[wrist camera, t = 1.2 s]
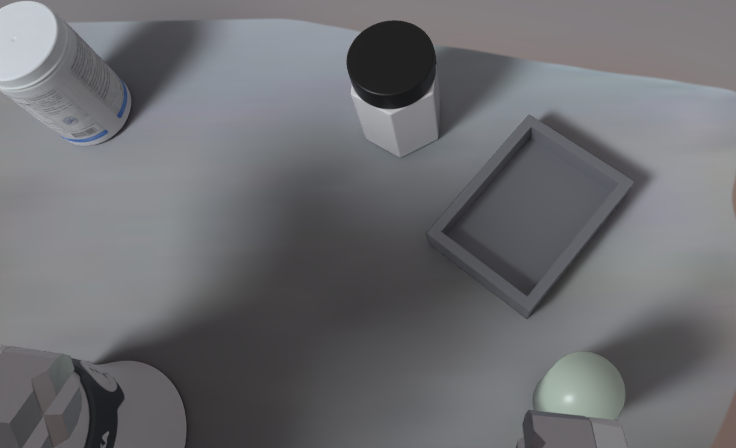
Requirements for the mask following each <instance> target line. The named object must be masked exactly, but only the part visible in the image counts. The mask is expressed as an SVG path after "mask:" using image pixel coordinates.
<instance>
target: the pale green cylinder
mask: <svg viewBox="0 0 736 448" xmlns="http://www.w3.org/2000/svg"><path fill="white" fill-rule="evenodd" d="M624 402H625V385H624V381H623V379H622V377H621V375H620V373H619V371H618V370H617V369H616V367H615V366H614V365H613V364H612V363H611V362H610V361H608V360H607V359H605V358H604V357H602V356H600V355H598V354H595V353H591V352H574V353H571V354H568V355H566V356H564V357H562V358H561V359H560V360H559V361H557V363H556V364H555V365H554V366H553V367H552V368H551V369H550V370H549V372H548V373H547V374H546V375H545V376H544V377H543V378H542V380H541V381H540V382H539V383H538V385H537V386H536V388H535V391H534V395H533V406H534V410H535V411H543V412H552V413H561V414H570V415H580V416H585V417H594V418H602V419H610V420H615V419H616V418H617V416H618V415H619V414H620V412H621V410H622V408H623V406H624Z"/></svg>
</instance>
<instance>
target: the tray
mask: <svg viewBox="0 0 736 448" xmlns="http://www.w3.org/2000/svg"><path fill="white" fill-rule="evenodd" d="M633 184H634V181H633V180H631V179H630V178H628V177H626V176H625V175H623V174H622V173H620V172H619V171H617V170H615V169H614V168H612V167H611V166H609V165H608V164H606V163H605V162H603V161H601V160H600V159H598V158H597V157H595V156H594V155H592V154H590V153H589V152H587V151H586V150H584V149H583V148H581V147H579V146H578V145H576V144H575V143H573V142H572V141H570V140H568V139H567V138H565V137H564V136H562V135H561V134H559V133H558V132H556V131H554V130H553V129H551V128H550V127H548V126H547V125H545V124H543V123H542V122H540V121H539V120H537V119H536V118H534V117H532V116H531V115H528V116H527V117H526V118H525V119H524V121H523V122H522V123H521V124H520V125H519V126H518V127H517V129H516V130H515V131H514V132H513V133H512V134H511V136H510V137H509V138H508V139H507V140H506V141H505V143H504V144H503V145H502V146H501V147H500V148H499V149H498V151H497V152H496V153H495V154H494V155H493V156H492V158H491V159H490V160H489V161H488V162H487V163H486V165H485V166H484V167H483V168H482V169H481V170H480V171H479V173H478V174H477V175H476V176H475V177H474V178H473V180H472V181H471V182H470V183H469V184H468V185H467V186H466V188H465V189H464V190H463V191H462V192H461V193H460V195H459V196H458V197H457V198H456V199H455V200H454V202H453V203H452V204H451V205H450V206H449V207H448V208H447V210H446V211H445V212H444V213H443V214H442V215H441V217H440V218H439V219H438V220H437V221H436V222H435V224H434V225H433V226H432V227H431V228H430V229H429V230H428V232H427V233H426V234H427V239H428V243H429V244H430V245H431V246H433V247H434V248H435V249H437V250H438V251H439V252H441V253H442V254H443V255H444V256H446V257H447V258H448V259H450V260H451V261H452V262H454V263H455V264H456V265H457V266H459V267H460V268H461V269H463V270H464V271H465V272H467V273H468V274H469V275H470V276H472V277H473V278H474V279H476V280H477V281H478V282H480V283H481V284H482V285H483V286H485V287H486V288H487V289H489V290H490V291H491V292H493V293H494V294H495V295H497V296H498V297H499V298H500V299H502V300H503V301H504V302H506V303H507V304H508V305H510V306H511V307H512V308H513V309H515V310H516V311H517V312H519V313H520V314H521V315H523V316H524V317H525V318H526V319H527V318H528V317H529V316H530V315H531V313H532V312H533V311H534V310H535V308H536V307H537V306H538V305H539V303H540V302H541V301H542V300H543V298H544V297H545V296H546V295H547V293H548V292H549V291H550V290H551V288H552V287H553V286H554V285H555V284H556V282H557V281H558V280H559V279H560V277H561V276H562V275H563V274H564V272H565V271H566V270H567V269H568V267H569V266H570V265H571V264H572V262H573V261H574V260H575V259H576V257H577V256H578V255H579V254H580V252H581V251H582V250H583V249H584V248H585V246H586V245H587V244H588V243H589V241H590V240H591V239H592V238H593V236H594V235H595V234H596V233H597V231H598V230H599V229H600V228H601V226H602V225H603V224H604V223H605V221H606V220H607V219H608V218H609V217H610V215H611V214H612V213H613V212H614V210H615V209H616V208H617V207H618V205H619V204H620V203H621V202H622V200H623V199H624V198H625V197H626V195H627V194H628V192H629V191H630V189H631V187H632V186H633Z"/></svg>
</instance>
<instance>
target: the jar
mask: <svg viewBox="0 0 736 448" xmlns="http://www.w3.org/2000/svg"><path fill="white" fill-rule="evenodd" d="M347 70H348V73H349V76H350V79H351V83H352V87H351V96H352V99H353V102H354V105H355V108H356V111H357V114H358V117H359V120H360V123H361V126H362V129H363V132H364V135H365V138H366V139H367V140H369V141H371V142H372V143H374V144H376V145H378V146H380V147H381V148H383V149H385V150H387V151H388V152H390V153H392V154H394V155H396V156H397V157H399V158H401V157H403V156H405V155H407V154H409V153H411V152H413V151H415V150H417V149H419V148H421V147H423V146H425V145H427V144H429V143H431V142H433V141H435V140H437V139H438V135H439V116H440V95H439V83H438V72H437V61H436V53H435V51H434V47H433V44H432V42H431V40H430V38H429V37H428V35H427V34H426V33H425V32H424V31H423V30H422V29H420V28H419V27H417V26H415V25H413V24H411V23H408V22H404V21H385V22H380V23H377V24H375V25H372V26H371V27H369V28H367V29H365V30H364V31H363V32H361V33H360V34H359V35H358V36H357V37H356V39H355V40H354V41H353V43H352V44H351V46H350V48H349V51H348V55H347Z"/></svg>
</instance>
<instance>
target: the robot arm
mask: <svg viewBox="0 0 736 448" xmlns="http://www.w3.org/2000/svg"><path fill="white" fill-rule="evenodd" d="M522 425H523V434H524V437H523V438H521V439H520V440H518V441H517V445H516V448H628V446H627V443H626V439H625V436H624V432H623V429H622V425H621V424H620V423H619V422H618V420H610V419H602V418H594V417H585V416H580V415H570V414H561V413H552V412H543V411H534V410H528V411H527V413H526V414H525V417H524V421H523V424H522ZM186 430H187V426H186V415H185V410H184V406H183V403H182V400H181V397H180V395H179V393H178V391H177V389H176V388H175V386H174V385H173V384H172V382H171V381H170V380H169V379H168V378H167V377H166V376H165V375H164V374H163V373H162V372H160V371H159V370H157V369H156V368H154V367H152V366H150V365H148V364H145V363H141V362H136V361H117V362H111V363H107V364H100V365H94V364H92V363H89V362H86V361H81V360H77V359H73V358H71V357H70V356H69V355H66V354H61V353H54V352H47V351H40V350H34V349H27V348H20V347H14V346H5V345H0V448H184V447H185V442H186Z"/></svg>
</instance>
